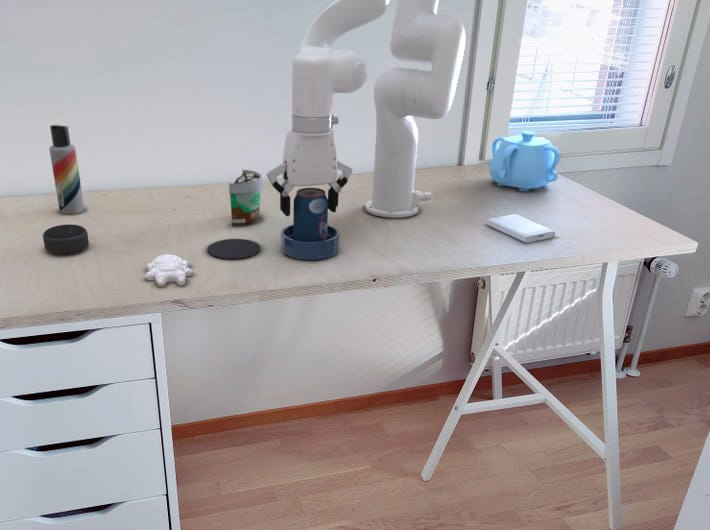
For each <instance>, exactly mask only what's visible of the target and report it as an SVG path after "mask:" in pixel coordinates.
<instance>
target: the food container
mask: <svg viewBox="0 0 710 530" xmlns="http://www.w3.org/2000/svg"><path fill="white" fill-rule="evenodd" d="M241 170H242V171H241V172H242V174H241V175H240V176H239V177H237V178H236V179H235V181H234V182H233V183H231V182H229V184H228V185H229V186H228V194H229V199H230V211H231V213H230V215H231V223H232V224H231V226H232V227H246V226H252V225H254V224H256V223H258V222H259V221H260V213H261V212H260V210H261V208H260V207H261V189H263V187H265V185H264V180H263V177H262V175H261V173H259V172H257V171H256V170H255V171H254V170H251V169H250V170H249V169H241Z"/></svg>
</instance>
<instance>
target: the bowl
mask: <svg viewBox="0 0 710 530" xmlns="http://www.w3.org/2000/svg"><path fill="white" fill-rule="evenodd" d="M280 246H281V247H280V250H281V251H282V253H283V254H284V255H286V256H288V257H290V258H294V259H298V260H305V261H316V260H323V259H324V260H325V259H327V258H330V257H331V258H332V257H333V256H335V255H337V254H338V253H339V249H340V230H339V229H338V228H336V227H335V226H333V225H331V224H327V240H325V241H318V242H303V241H297V240H293V224H289V225H286V226H285V227H284V228H282V229H281V232H280Z"/></svg>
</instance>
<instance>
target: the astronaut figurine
mask: <svg viewBox="0 0 710 530" xmlns="http://www.w3.org/2000/svg"><path fill="white" fill-rule="evenodd" d="M146 270H147V271H146V273H145V275H144V277H145V280H146V281H154V280H155V283H156V285H157V286H158V287H160V288H163V287H164V286H166V284H168V283H176V284H177V285H178V286H180V287H183V286H185V285H186V277H191V276H192V274H193V270H192V269H191V267H189V262H188V261H187V260H185V259H182V258H181V257H179V256H177V255H175V254H161V255H159V256H156V257H155V258H154V259H152V261H151V262H148V263H147V264H146Z"/></svg>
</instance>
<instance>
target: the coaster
mask: <svg viewBox="0 0 710 530" xmlns="http://www.w3.org/2000/svg"><path fill="white" fill-rule="evenodd" d="M206 251H207V255H209V256H211V257H213V258H216V259H219V260H225V261H241V260H247V259H250V258H254V257H255V256H257V255H258V254H259V253H260V252H261V246H260V244H259V243H257V242H256V241H253V240H249V239H244V238H227V239H221V240H217V241H215V242H212V243H211V244H209V245H208V246H207V249H206Z"/></svg>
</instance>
